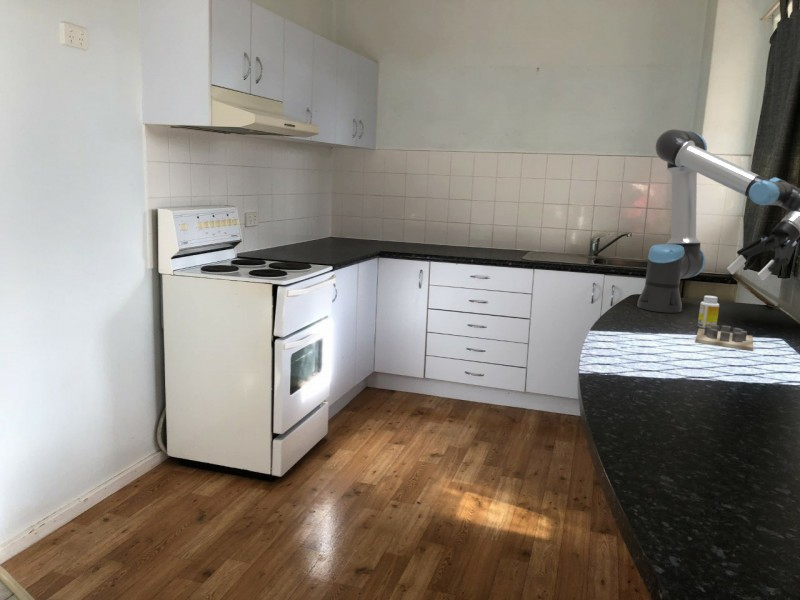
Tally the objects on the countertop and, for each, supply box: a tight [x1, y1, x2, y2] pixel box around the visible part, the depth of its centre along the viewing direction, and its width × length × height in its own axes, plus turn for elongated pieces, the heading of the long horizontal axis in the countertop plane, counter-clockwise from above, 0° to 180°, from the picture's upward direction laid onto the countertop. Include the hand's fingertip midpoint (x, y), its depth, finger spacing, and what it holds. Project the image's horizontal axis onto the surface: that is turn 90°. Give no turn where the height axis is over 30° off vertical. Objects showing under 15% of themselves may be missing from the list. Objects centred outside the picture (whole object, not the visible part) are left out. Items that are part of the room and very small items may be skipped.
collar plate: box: [694, 325, 754, 351], centre depth 198 cm, size 15×17×4 cm
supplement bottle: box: [697, 295, 720, 329], centre depth 215 cm, size 6×6×10 cm
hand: (744, 274), depth 215 cm, fingers open, 13 cm apart
